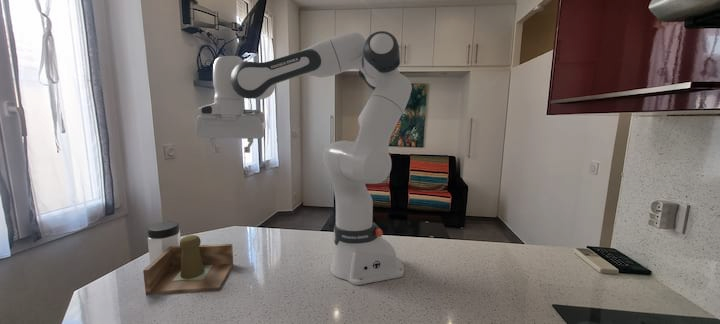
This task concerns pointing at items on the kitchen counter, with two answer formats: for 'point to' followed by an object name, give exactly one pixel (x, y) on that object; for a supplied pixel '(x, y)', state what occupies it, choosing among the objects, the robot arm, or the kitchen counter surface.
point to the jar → (162, 238)
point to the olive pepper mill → (191, 257)
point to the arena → (167, 278)
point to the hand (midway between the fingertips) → (232, 152)
